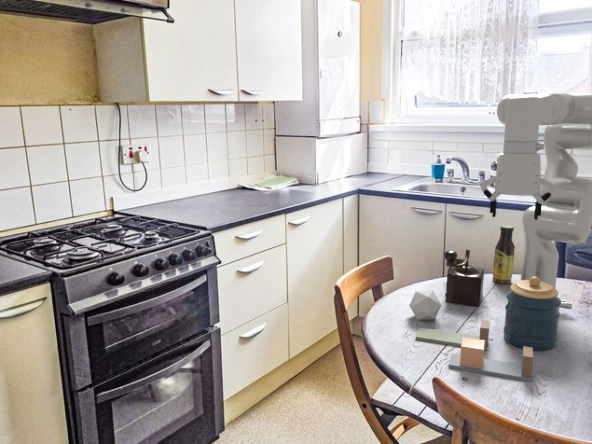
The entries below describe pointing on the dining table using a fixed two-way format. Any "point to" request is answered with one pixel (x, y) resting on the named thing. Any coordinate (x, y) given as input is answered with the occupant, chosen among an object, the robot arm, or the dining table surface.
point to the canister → (532, 314)
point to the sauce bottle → (504, 256)
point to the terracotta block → (472, 353)
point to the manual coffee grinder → (463, 281)
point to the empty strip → (453, 335)
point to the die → (425, 305)
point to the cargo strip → (501, 366)
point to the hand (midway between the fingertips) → (514, 217)
